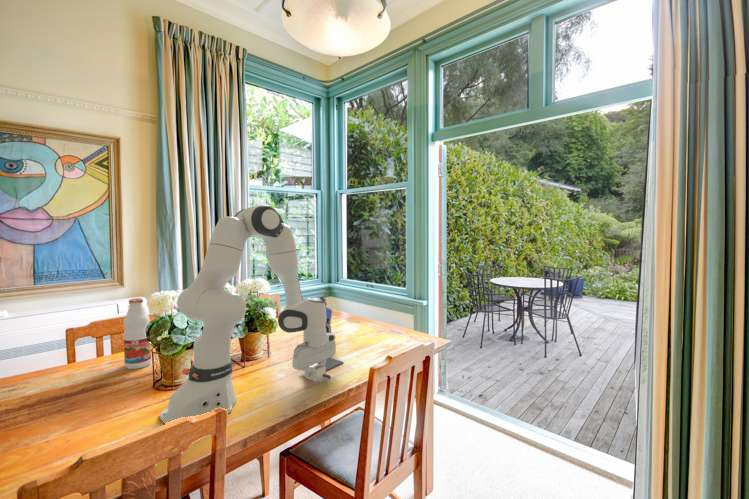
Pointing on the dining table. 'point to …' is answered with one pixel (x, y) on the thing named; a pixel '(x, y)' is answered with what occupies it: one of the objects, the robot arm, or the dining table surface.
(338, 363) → the mat
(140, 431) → the dining table surface
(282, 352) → the dining table surface
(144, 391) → the dining table surface
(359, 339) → the dining table surface
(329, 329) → the water bottle
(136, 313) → the fruit juice
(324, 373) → the plug
